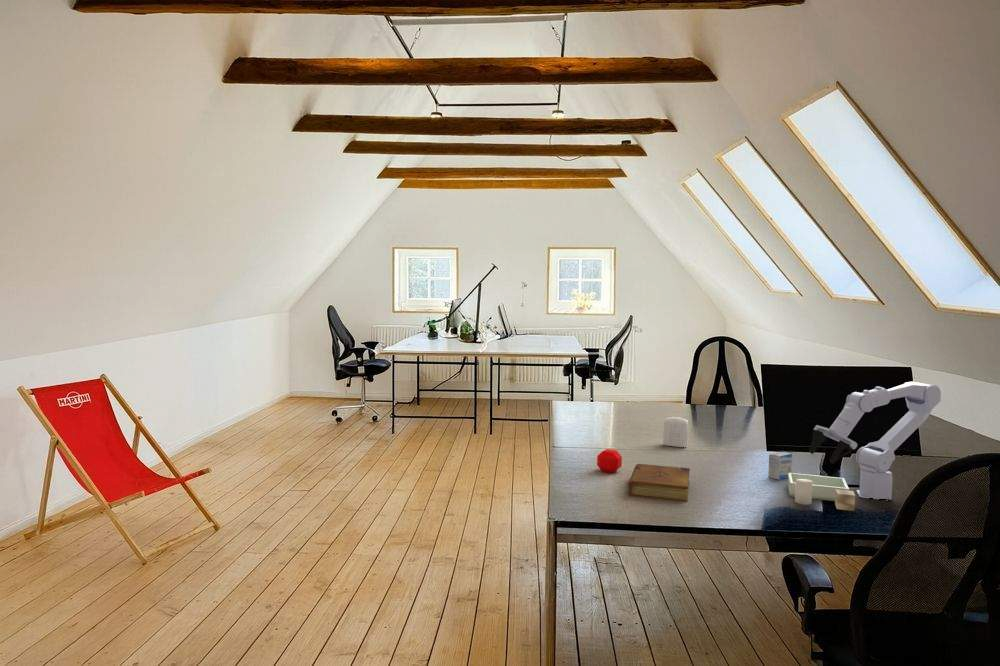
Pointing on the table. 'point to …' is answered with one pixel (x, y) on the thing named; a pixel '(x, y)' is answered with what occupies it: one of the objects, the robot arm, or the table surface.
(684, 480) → the diary
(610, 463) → the ball
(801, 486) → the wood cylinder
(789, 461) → the medicine box
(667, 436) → the white rounded block
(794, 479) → the tote
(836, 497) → the oak cube
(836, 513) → the table surface
